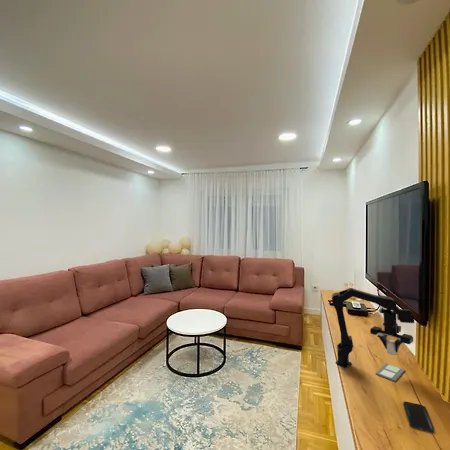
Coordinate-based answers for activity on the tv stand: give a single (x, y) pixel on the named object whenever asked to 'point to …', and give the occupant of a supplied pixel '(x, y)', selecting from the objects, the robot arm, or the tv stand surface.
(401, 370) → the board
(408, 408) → the phone
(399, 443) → the tv stand surface
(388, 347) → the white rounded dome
